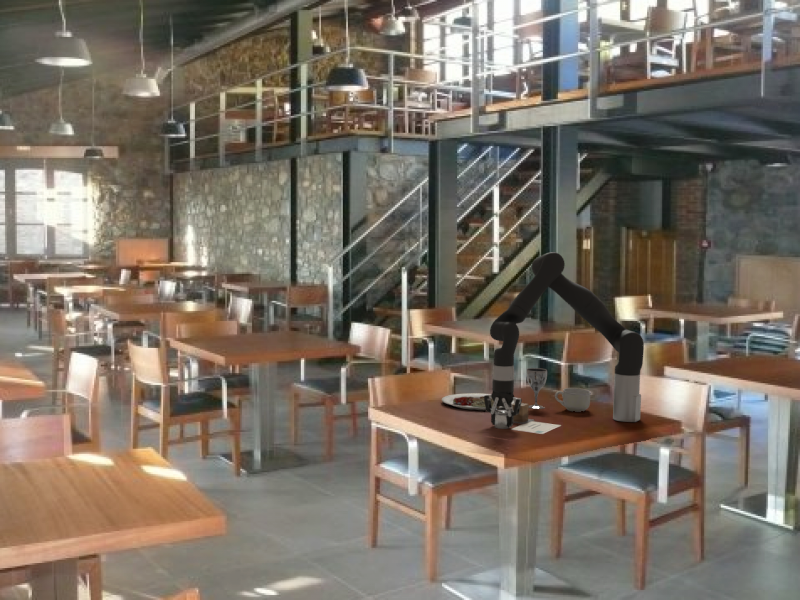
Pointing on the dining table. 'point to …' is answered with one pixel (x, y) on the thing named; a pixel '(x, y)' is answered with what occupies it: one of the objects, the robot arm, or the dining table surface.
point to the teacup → (574, 399)
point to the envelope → (536, 427)
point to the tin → (501, 419)
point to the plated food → (468, 401)
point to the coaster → (524, 422)
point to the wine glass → (536, 383)
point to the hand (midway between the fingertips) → (502, 425)
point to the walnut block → (521, 413)
